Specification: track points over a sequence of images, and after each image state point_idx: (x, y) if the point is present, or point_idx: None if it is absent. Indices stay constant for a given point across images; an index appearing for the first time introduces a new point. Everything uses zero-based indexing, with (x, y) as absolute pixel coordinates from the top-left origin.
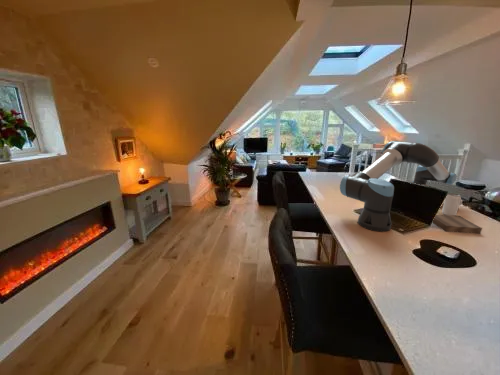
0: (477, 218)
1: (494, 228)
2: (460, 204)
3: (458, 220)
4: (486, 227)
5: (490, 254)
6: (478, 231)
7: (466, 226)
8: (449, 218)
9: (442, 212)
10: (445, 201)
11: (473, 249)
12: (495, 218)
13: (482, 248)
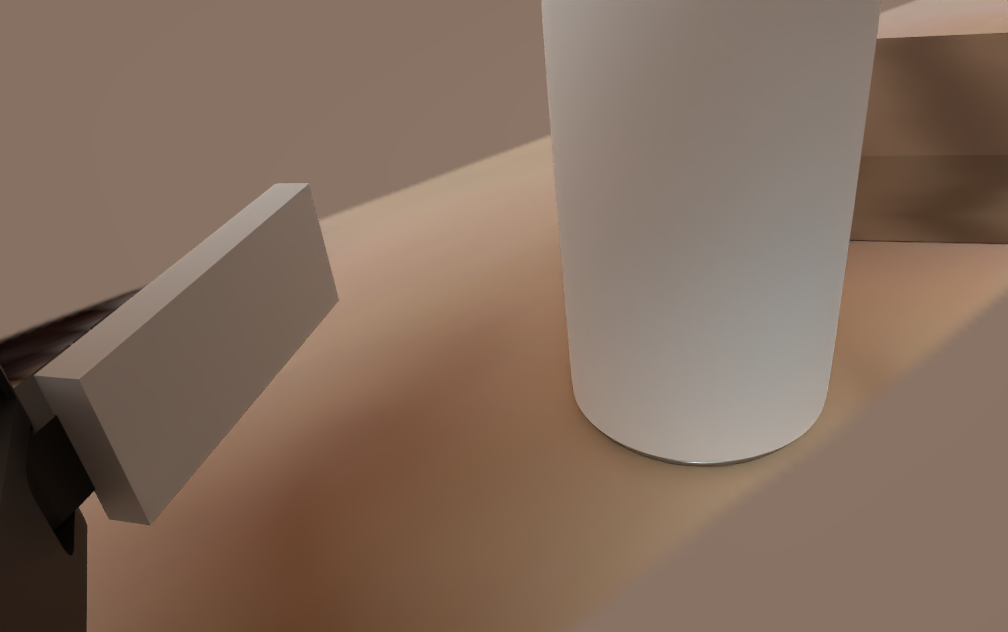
0: (342, 298)
1: (479, 164)
2: (328, 290)
3: (880, 88)
4: (540, 169)
5: (904, 13)
6: None
7: (886, 43)
8: (974, 104)
9: (829, 380)
10: (867, 103)
11: (981, 20)
12: (76, 310)
13: (907, 30)
